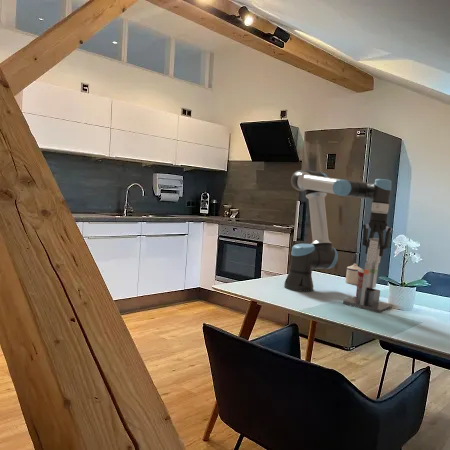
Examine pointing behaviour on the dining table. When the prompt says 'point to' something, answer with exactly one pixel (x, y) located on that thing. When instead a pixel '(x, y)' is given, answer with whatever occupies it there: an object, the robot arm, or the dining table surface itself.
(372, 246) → the column
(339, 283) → the dining table surface
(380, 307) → the stand
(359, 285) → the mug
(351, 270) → the teacup with lid
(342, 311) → the dining table surface
